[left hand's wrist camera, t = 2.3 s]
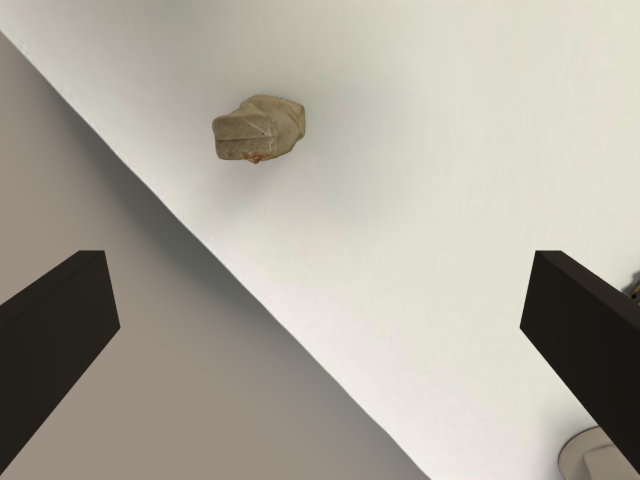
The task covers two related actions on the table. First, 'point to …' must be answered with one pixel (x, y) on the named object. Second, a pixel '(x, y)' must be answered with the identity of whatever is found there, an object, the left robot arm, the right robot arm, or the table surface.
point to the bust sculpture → (594, 459)
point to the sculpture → (259, 129)
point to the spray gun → (636, 295)
